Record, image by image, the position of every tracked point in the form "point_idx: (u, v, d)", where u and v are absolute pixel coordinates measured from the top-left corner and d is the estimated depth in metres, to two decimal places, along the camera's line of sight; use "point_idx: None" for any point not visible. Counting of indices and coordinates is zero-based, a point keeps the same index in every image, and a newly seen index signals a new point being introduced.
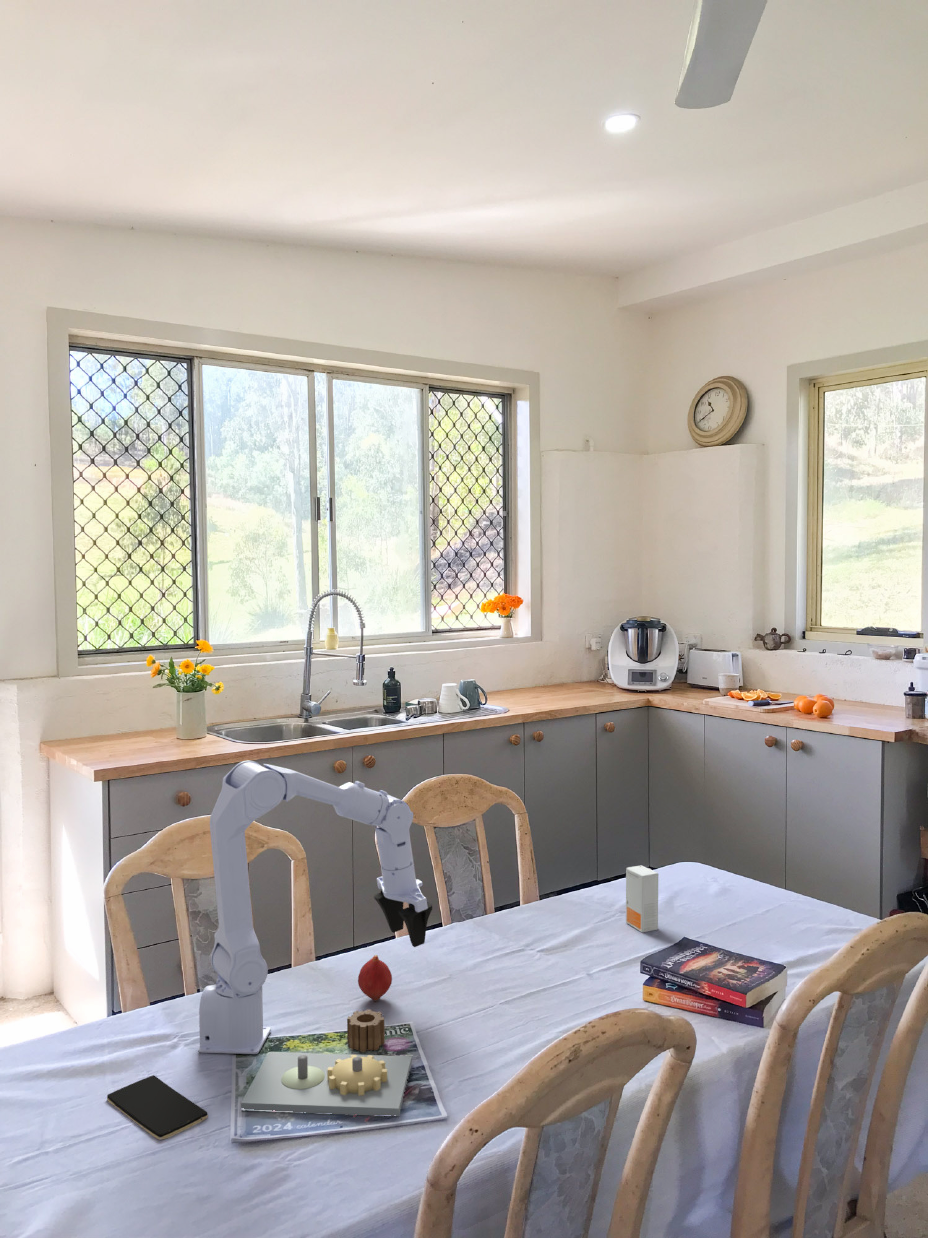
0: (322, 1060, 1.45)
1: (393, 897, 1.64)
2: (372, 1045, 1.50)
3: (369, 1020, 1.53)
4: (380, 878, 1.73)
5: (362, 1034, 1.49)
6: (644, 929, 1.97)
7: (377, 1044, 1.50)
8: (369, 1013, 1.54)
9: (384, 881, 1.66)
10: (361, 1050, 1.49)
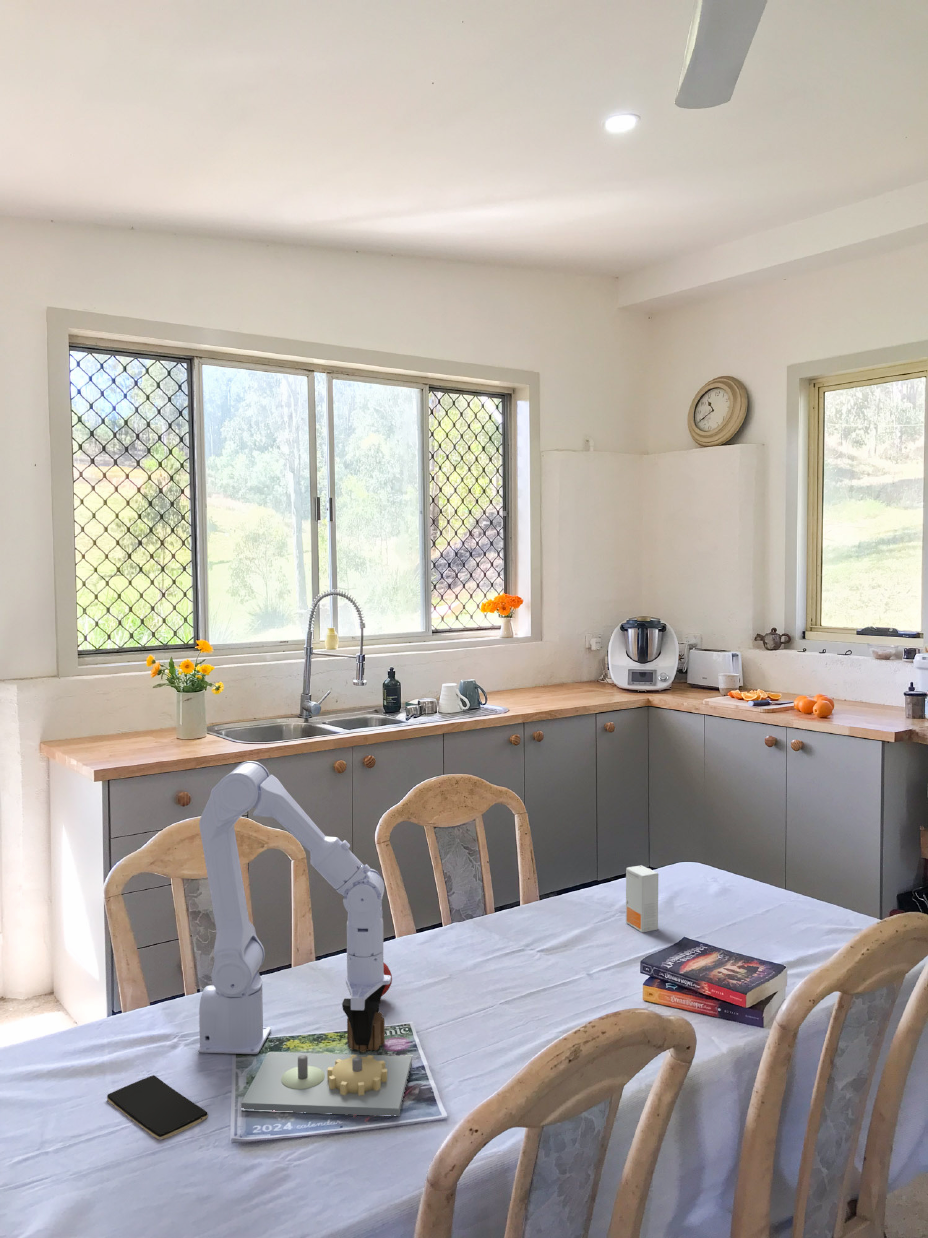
0: (322, 1060, 1.45)
1: (347, 984, 1.50)
2: (372, 1045, 1.50)
3: None
4: None
5: None
6: (644, 929, 1.97)
7: (377, 1044, 1.50)
8: None
9: None
10: (361, 1050, 1.49)
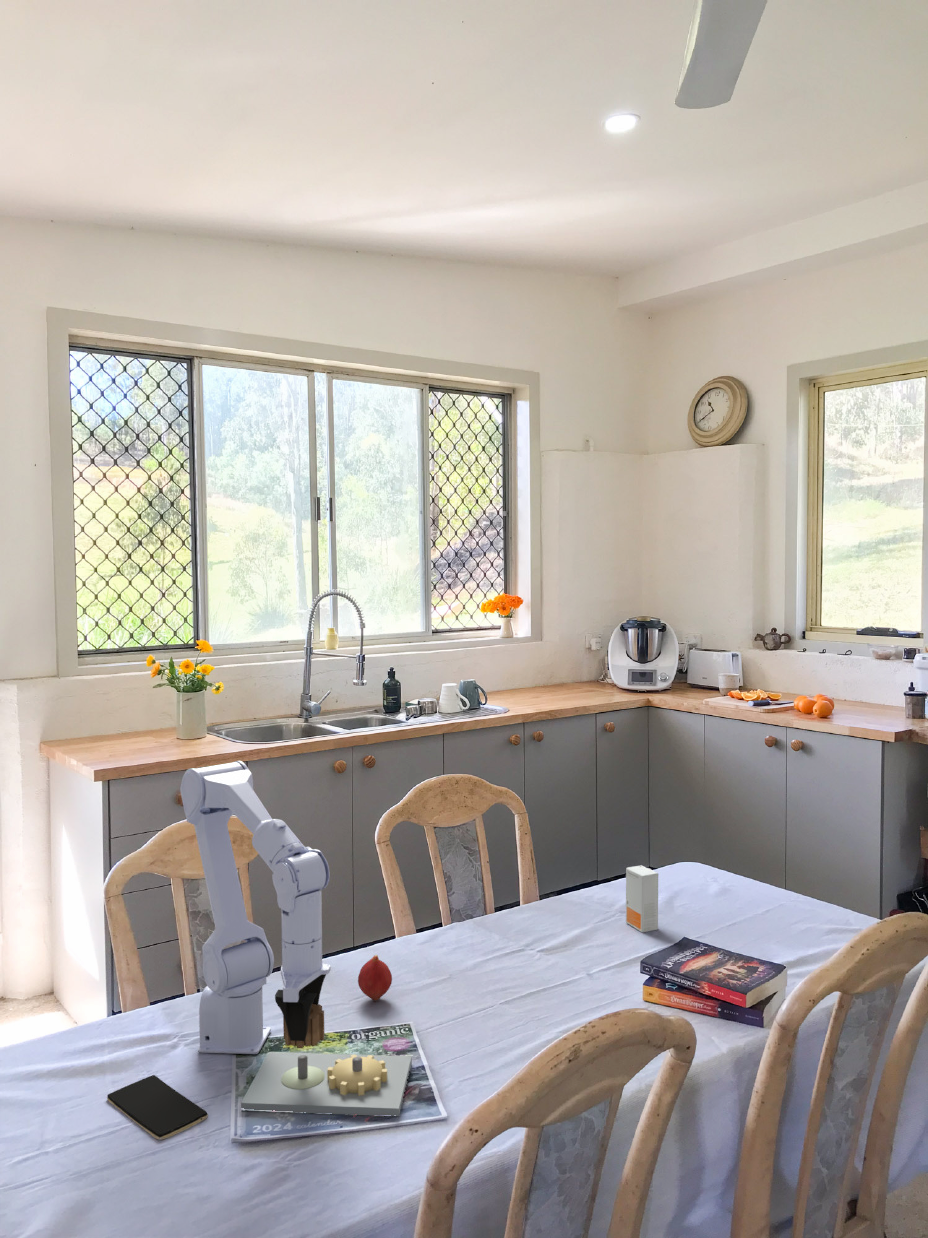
0: (322, 1060, 1.45)
1: (281, 974, 1.37)
2: (310, 1040, 1.37)
3: None
4: None
5: None
6: (644, 929, 1.97)
7: (315, 1039, 1.37)
8: None
9: None
10: (298, 1046, 1.37)
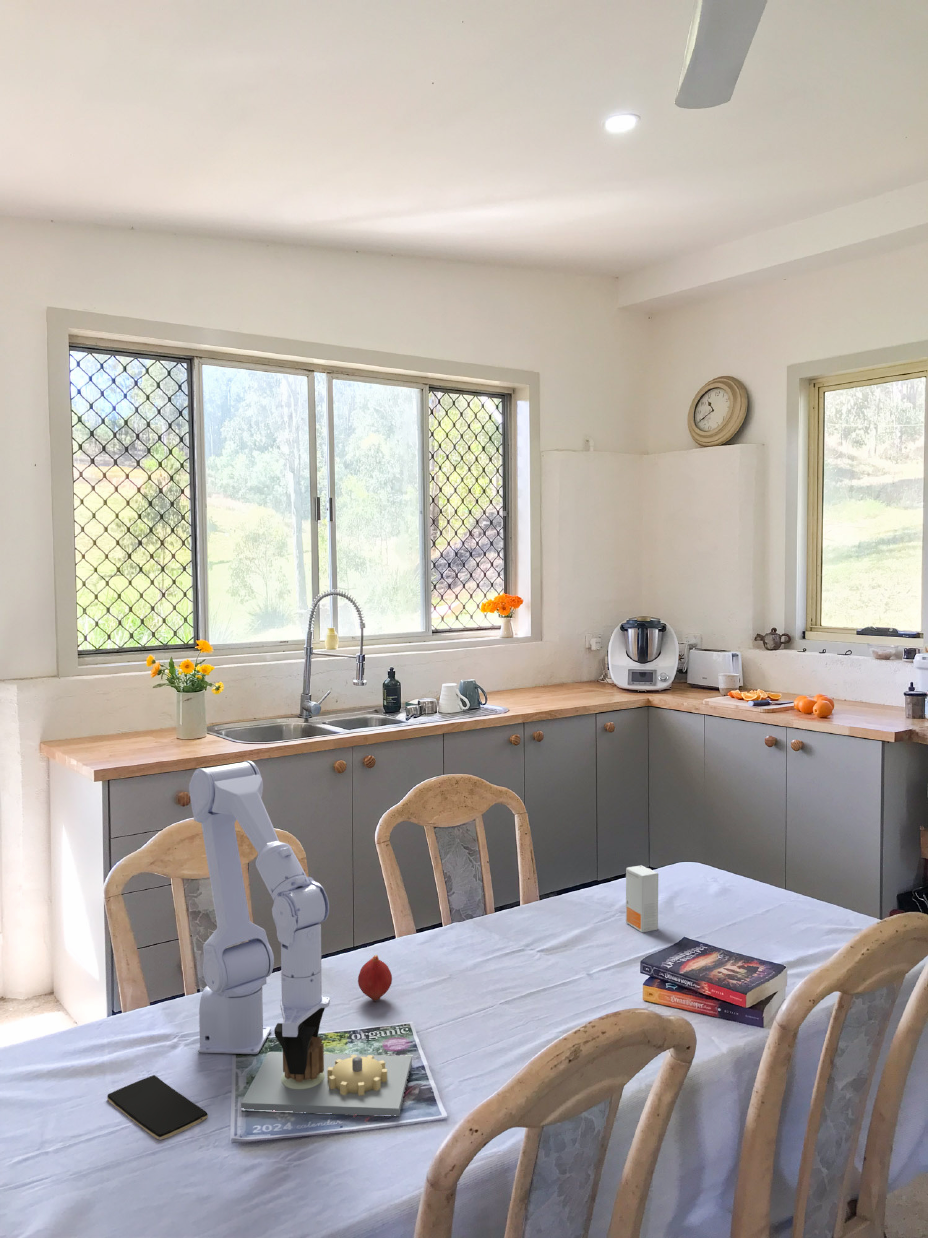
0: None
1: (281, 1007, 1.37)
2: (309, 1074, 1.37)
3: None
4: None
5: None
6: (644, 929, 1.97)
7: (315, 1073, 1.38)
8: None
9: None
10: (297, 1080, 1.37)
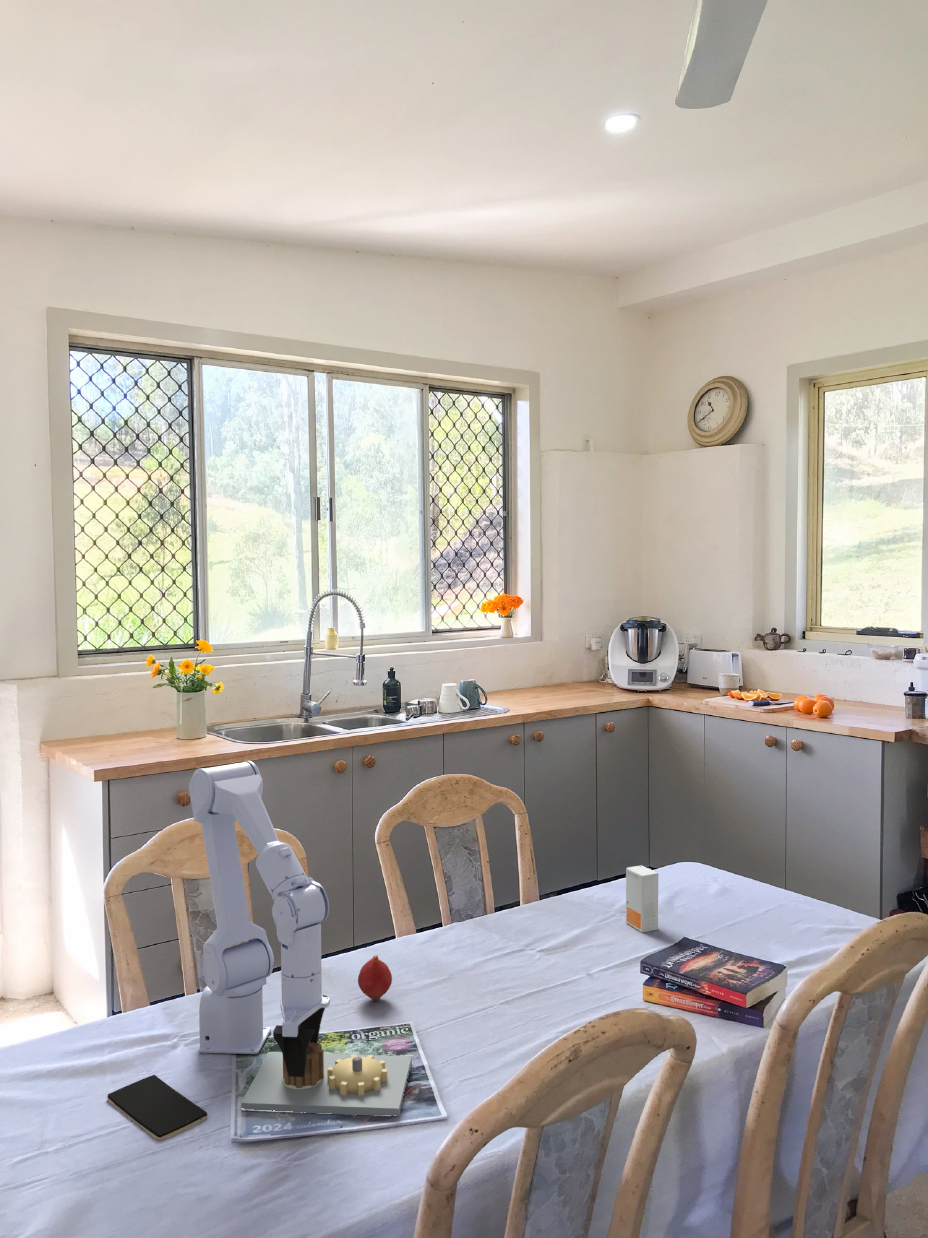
0: None
1: (281, 1007, 1.37)
2: (309, 1080, 1.37)
3: None
4: None
5: None
6: (644, 929, 1.97)
7: (315, 1079, 1.38)
8: None
9: None
10: (297, 1086, 1.37)
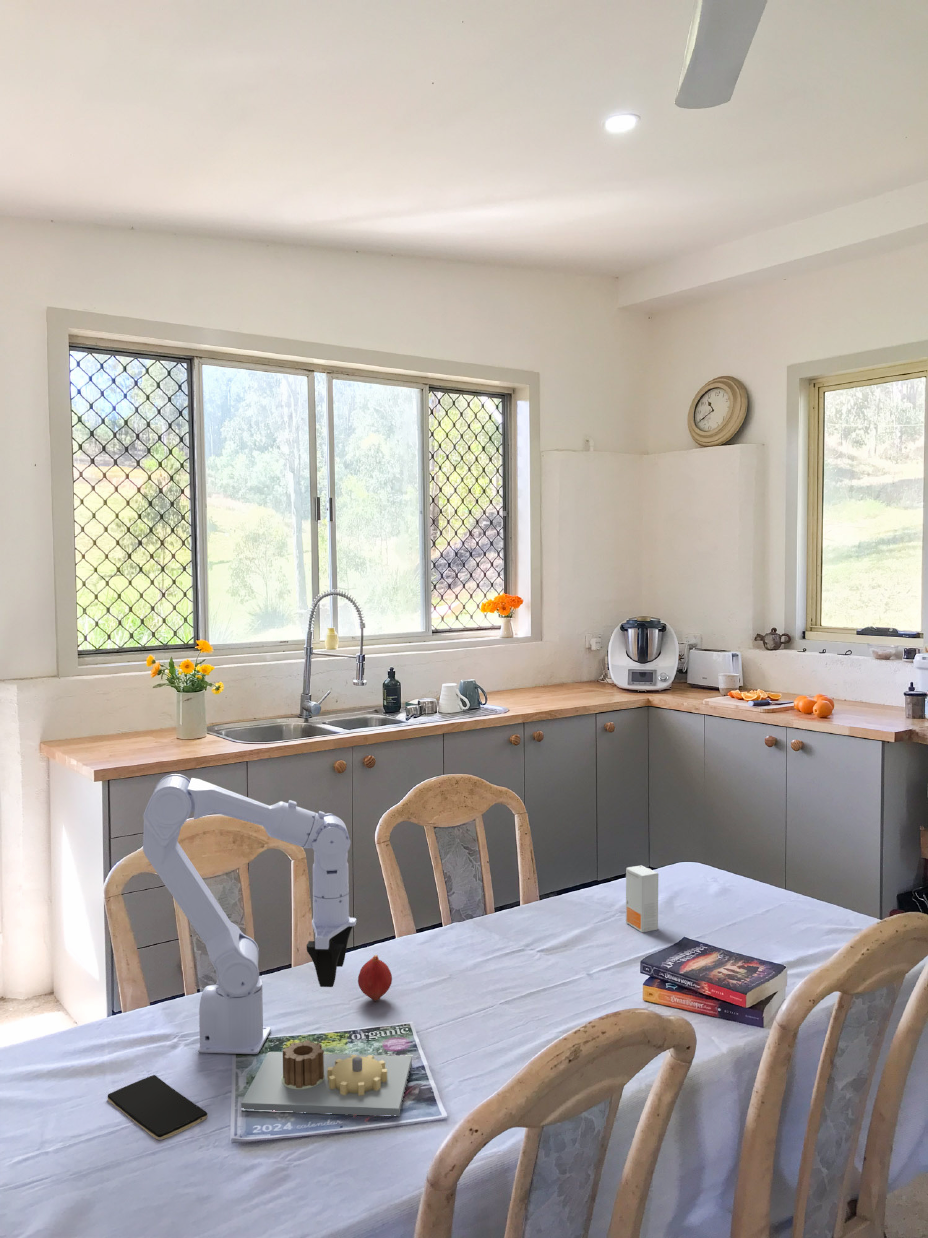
0: None
1: (312, 925, 1.53)
2: (309, 1080, 1.37)
3: (307, 1052, 1.41)
4: None
5: (298, 1068, 1.37)
6: (644, 929, 1.97)
7: (315, 1079, 1.38)
8: (307, 1044, 1.41)
9: None
10: (297, 1086, 1.37)
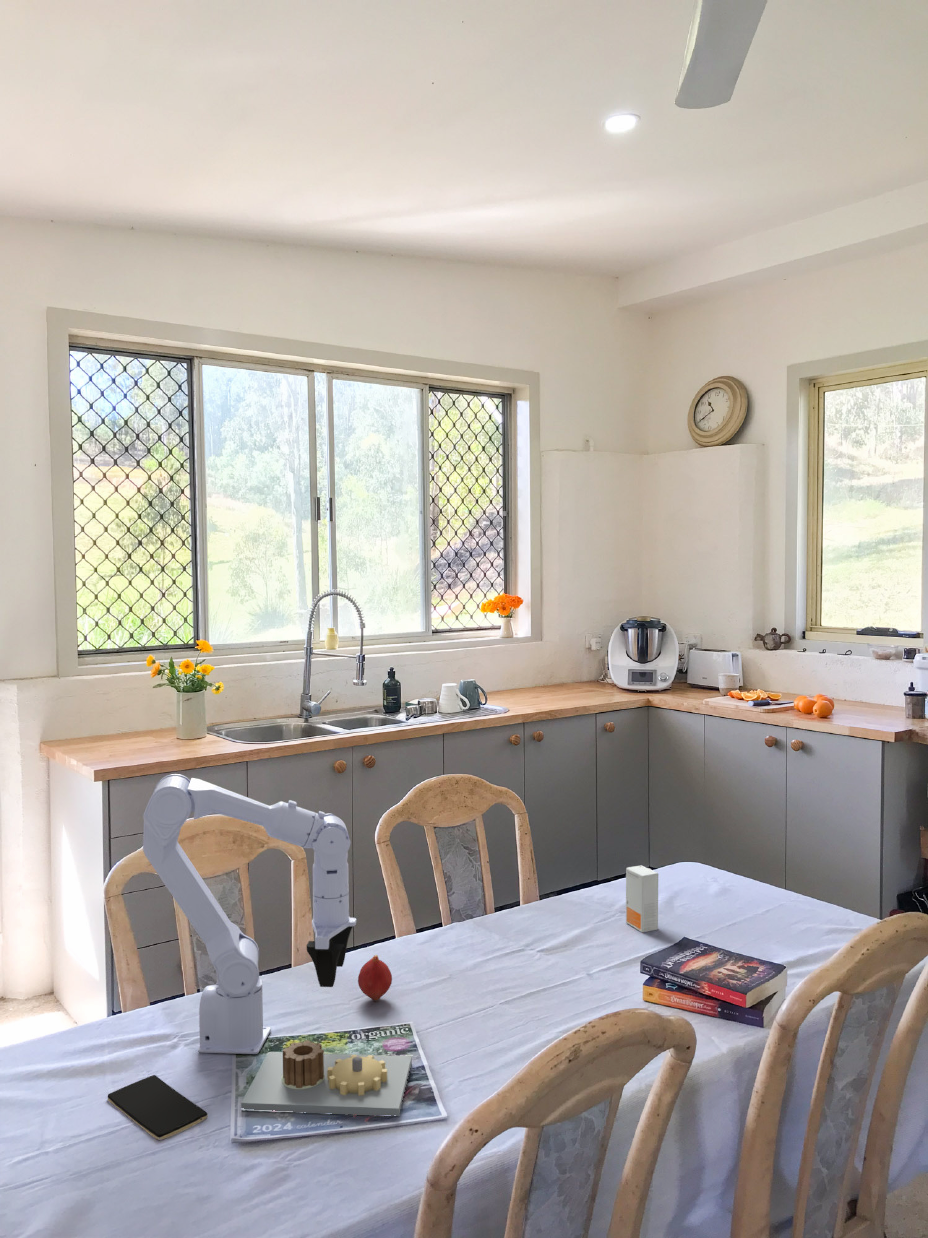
0: None
1: (312, 925, 1.53)
2: (309, 1080, 1.37)
3: (307, 1052, 1.41)
4: None
5: (298, 1068, 1.37)
6: (644, 929, 1.97)
7: (315, 1079, 1.38)
8: (307, 1044, 1.41)
9: None
10: (297, 1086, 1.37)
